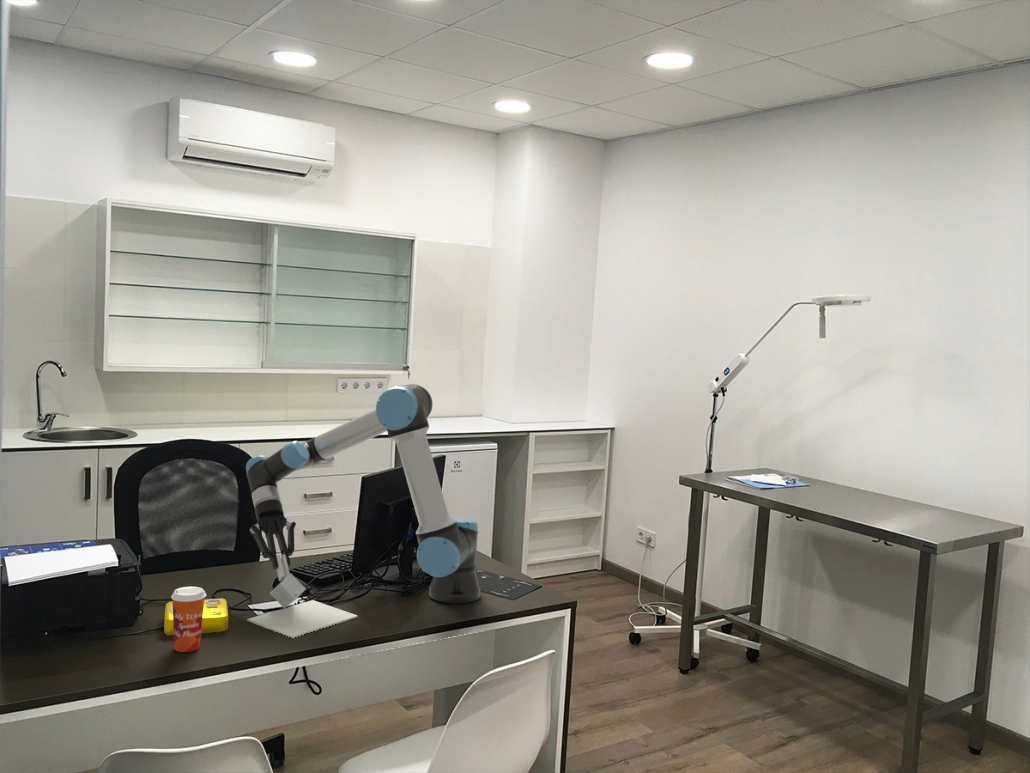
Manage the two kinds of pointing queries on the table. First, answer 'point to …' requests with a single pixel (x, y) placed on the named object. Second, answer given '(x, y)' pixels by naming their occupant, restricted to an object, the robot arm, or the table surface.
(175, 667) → the table surface
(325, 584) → the table surface
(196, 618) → the paper cup
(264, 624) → the mat
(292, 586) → the skincare box
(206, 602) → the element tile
